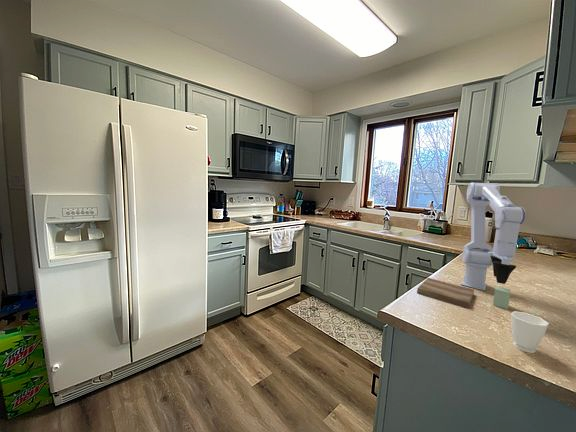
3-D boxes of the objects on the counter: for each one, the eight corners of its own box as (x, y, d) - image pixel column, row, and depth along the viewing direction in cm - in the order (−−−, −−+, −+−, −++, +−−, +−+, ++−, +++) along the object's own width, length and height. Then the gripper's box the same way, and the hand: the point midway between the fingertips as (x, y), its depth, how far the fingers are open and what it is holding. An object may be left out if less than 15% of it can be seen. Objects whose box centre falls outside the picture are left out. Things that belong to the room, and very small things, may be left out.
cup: (507, 348, 62) (512, 318, 61) (502, 330, 70) (507, 304, 69) (547, 361, 57) (553, 329, 56) (536, 340, 66) (542, 312, 65)
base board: (427, 282, 105) (427, 277, 105) (473, 294, 94) (474, 289, 94) (417, 292, 93) (417, 287, 93) (468, 308, 82) (469, 302, 82)
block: (493, 301, 89) (495, 286, 88) (507, 305, 86) (510, 289, 85) (492, 305, 86) (495, 289, 85) (507, 309, 83) (510, 292, 82)
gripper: (488, 236, 91) (482, 271, 93) (492, 243, 79) (486, 282, 81) (513, 239, 87) (507, 276, 89) (522, 247, 75) (515, 288, 77)
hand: (499, 279), depth 85 cm, fingers open, 7 cm apart
